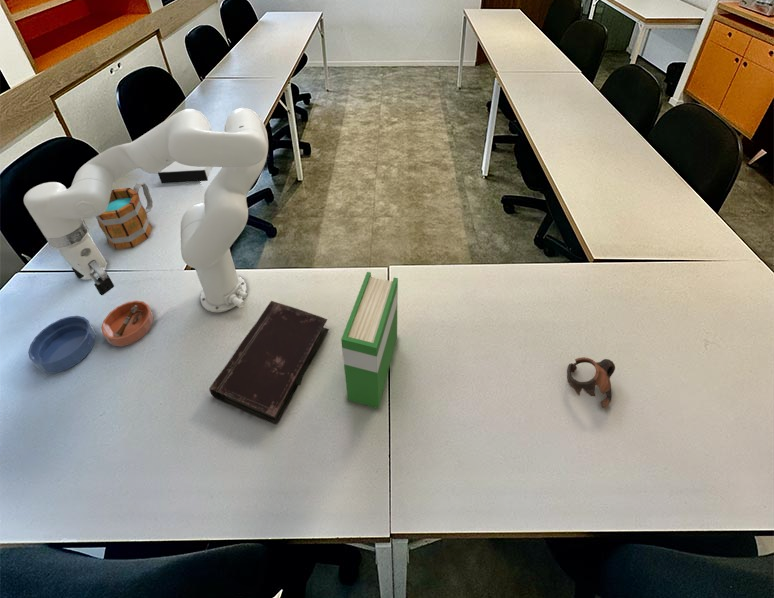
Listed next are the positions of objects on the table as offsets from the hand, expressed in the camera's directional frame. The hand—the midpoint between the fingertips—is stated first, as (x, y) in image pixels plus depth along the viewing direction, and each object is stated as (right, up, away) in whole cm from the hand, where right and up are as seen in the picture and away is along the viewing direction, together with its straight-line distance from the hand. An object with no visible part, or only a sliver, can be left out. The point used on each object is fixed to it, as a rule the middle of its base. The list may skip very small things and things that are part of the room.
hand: (96, 282), depth 105 cm
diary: (+44, -20, +1) cm, 49 cm away
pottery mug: (+120, -23, -4) cm, 123 cm away
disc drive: (-9, +26, +71) cm, 76 cm away
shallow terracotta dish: (+3, -15, +9) cm, 18 cm away
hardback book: (+69, -21, 0) cm, 72 cm away
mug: (-14, +5, +41) cm, 43 cm away
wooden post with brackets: (+3, -15, +9) cm, 18 cm away
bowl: (-10, -18, +4) cm, 21 cm away
